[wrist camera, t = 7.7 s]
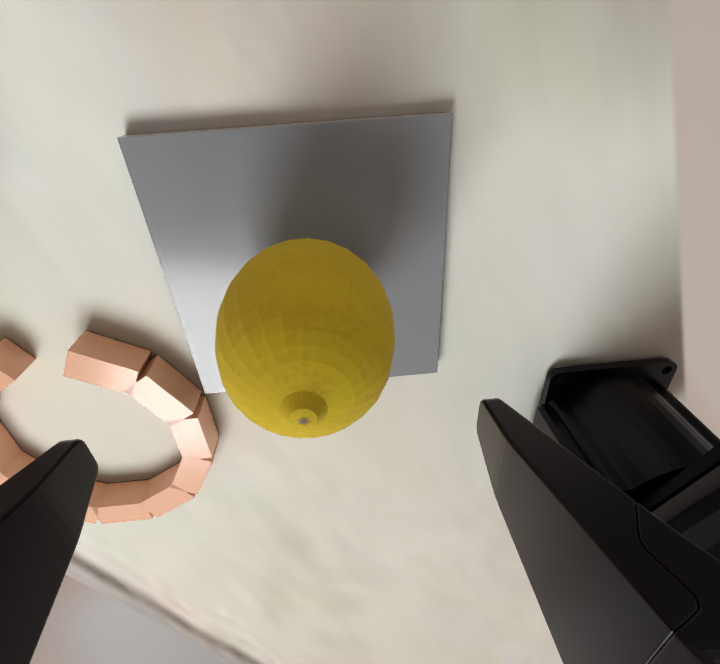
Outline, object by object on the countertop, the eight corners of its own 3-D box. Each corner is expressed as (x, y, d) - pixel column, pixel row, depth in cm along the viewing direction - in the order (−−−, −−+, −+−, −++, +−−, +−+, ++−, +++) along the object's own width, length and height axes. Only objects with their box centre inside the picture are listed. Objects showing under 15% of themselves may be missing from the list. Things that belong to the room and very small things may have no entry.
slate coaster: (447, 111, 14) (452, 113, 14) (434, 364, 20) (437, 372, 20) (124, 135, 14) (117, 137, 13) (208, 385, 20) (205, 393, 19)
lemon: (234, 323, 18) (180, 484, 11) (247, 193, 15) (185, 301, 8) (361, 343, 19) (383, 501, 12) (396, 225, 16) (450, 345, 9)
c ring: (180, 322, 18) (169, 341, 17) (236, 487, 24) (232, 510, 23) (-92, 345, 18) (-124, 367, 16) (36, 507, 24) (20, 532, 23)
